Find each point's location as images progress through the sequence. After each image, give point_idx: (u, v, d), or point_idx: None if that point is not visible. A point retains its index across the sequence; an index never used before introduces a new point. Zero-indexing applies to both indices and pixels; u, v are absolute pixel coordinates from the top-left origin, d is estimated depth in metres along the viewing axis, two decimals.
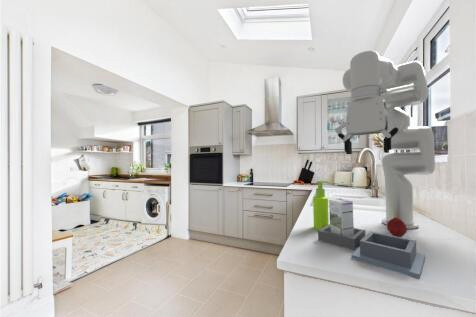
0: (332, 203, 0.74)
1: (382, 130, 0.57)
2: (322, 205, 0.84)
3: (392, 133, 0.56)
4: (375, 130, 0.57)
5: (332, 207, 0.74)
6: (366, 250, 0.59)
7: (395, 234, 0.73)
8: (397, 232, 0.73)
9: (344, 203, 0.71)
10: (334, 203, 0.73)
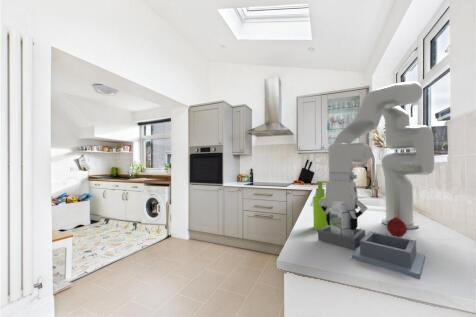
0: (332, 203, 0.74)
1: (351, 211, 0.70)
2: None
3: (357, 215, 0.69)
4: (347, 209, 0.70)
5: None
6: (366, 250, 0.59)
7: (395, 234, 0.73)
8: (397, 232, 0.73)
9: (344, 203, 0.71)
10: (334, 203, 0.73)
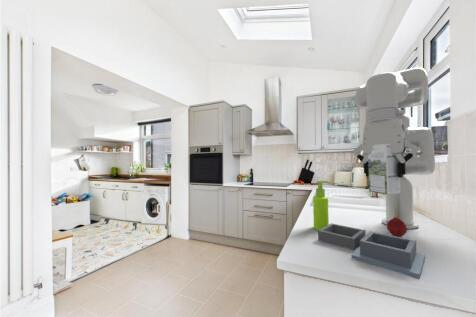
0: (373, 148, 0.61)
1: (398, 154, 0.57)
2: (322, 205, 0.84)
3: (406, 158, 0.56)
4: (393, 152, 0.57)
5: (372, 152, 0.61)
6: (366, 250, 0.59)
7: (395, 234, 0.73)
8: (397, 232, 0.73)
9: (389, 145, 0.58)
10: (375, 147, 0.60)
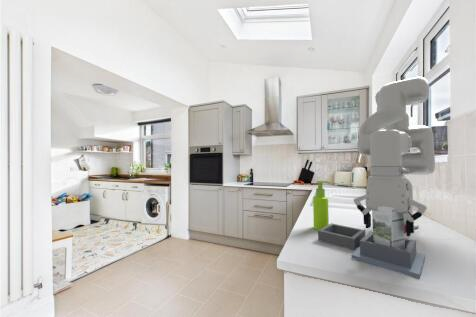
0: (378, 209, 0.60)
1: (404, 213, 0.56)
2: (322, 205, 0.84)
3: (415, 217, 0.55)
4: (397, 211, 0.57)
5: (376, 213, 0.60)
6: (366, 250, 0.59)
7: None
8: None
9: (394, 209, 0.57)
10: (380, 209, 0.59)
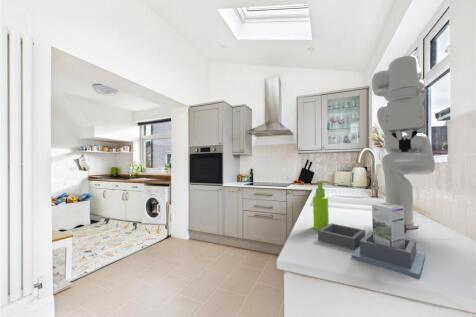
0: (377, 209, 0.60)
1: (409, 131, 0.65)
2: (322, 205, 0.84)
3: (412, 135, 0.65)
4: (414, 127, 0.64)
5: (376, 213, 0.60)
6: (366, 250, 0.59)
7: None
8: None
9: (394, 209, 0.57)
10: (380, 209, 0.59)
